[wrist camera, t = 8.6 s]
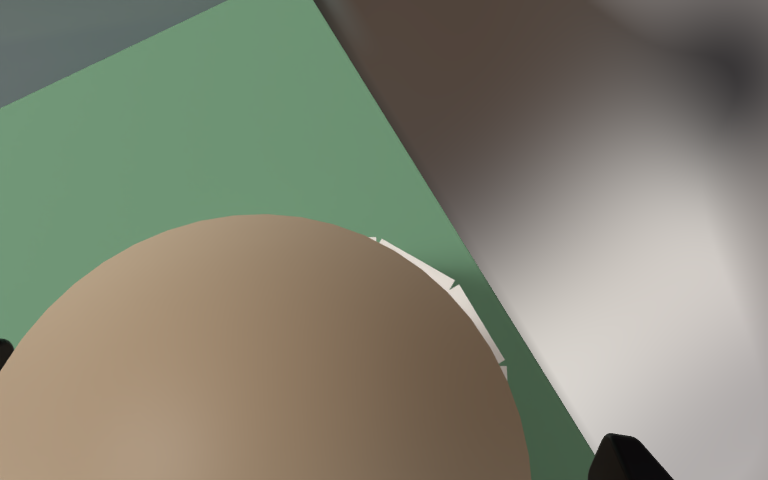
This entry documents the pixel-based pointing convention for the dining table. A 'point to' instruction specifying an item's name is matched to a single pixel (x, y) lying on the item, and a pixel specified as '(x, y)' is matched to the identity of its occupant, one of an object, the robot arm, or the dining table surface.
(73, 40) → the dining table surface
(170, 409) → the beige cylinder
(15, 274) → the putting mat
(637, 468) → the robot arm
